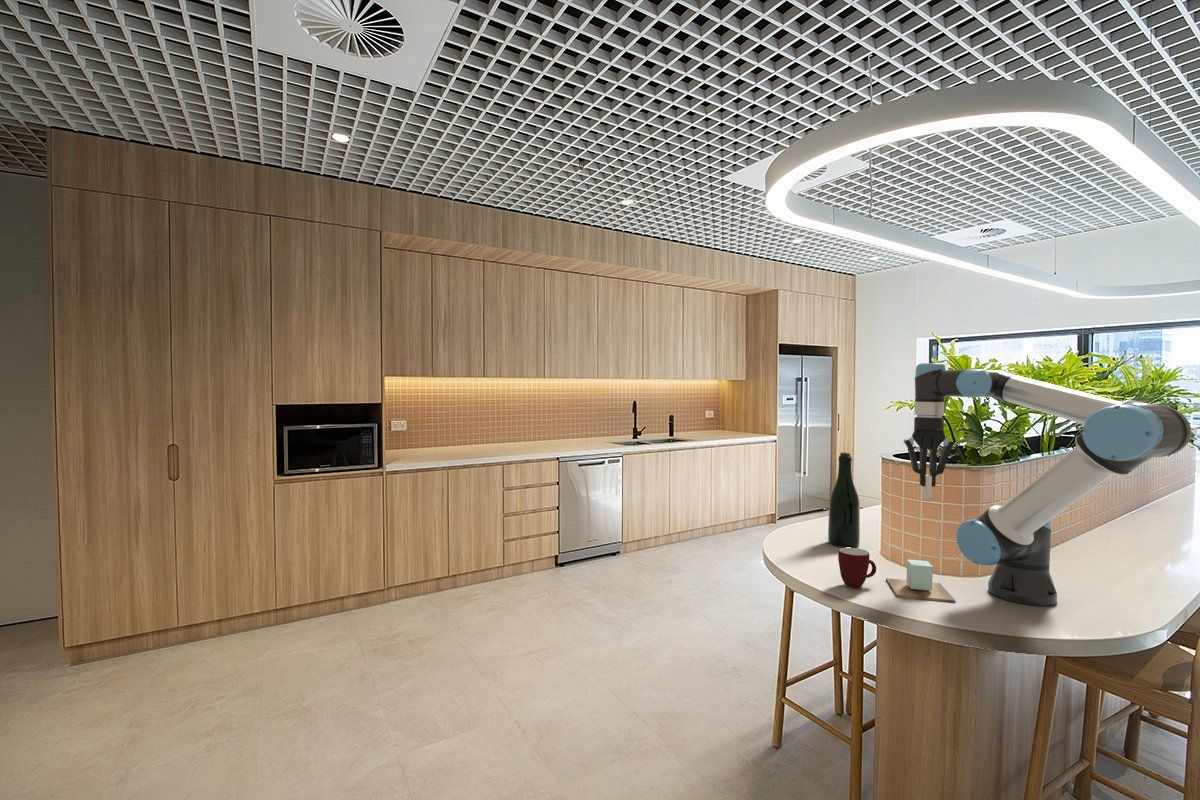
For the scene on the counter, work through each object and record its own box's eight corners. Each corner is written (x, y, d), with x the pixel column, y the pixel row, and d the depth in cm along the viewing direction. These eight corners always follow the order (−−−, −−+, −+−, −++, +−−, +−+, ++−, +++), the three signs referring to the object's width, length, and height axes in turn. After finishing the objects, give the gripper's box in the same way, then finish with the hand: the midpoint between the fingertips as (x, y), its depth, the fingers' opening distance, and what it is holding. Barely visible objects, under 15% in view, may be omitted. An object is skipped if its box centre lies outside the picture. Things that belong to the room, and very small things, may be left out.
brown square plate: (939, 585, 166) (940, 560, 166) (955, 602, 152) (956, 575, 152) (886, 580, 170) (886, 555, 169) (896, 596, 156) (897, 570, 156)
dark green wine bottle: (822, 540, 213) (824, 450, 212) (849, 540, 214) (851, 450, 213) (837, 548, 202) (838, 454, 201) (865, 548, 203) (867, 454, 203)
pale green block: (927, 584, 163) (927, 561, 162) (932, 590, 158) (932, 566, 157) (906, 582, 164) (907, 559, 164) (910, 588, 159) (911, 564, 159)
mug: (863, 580, 169) (864, 546, 169) (883, 589, 162) (883, 554, 161) (831, 582, 167) (832, 548, 167) (849, 592, 159) (850, 556, 159)
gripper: (950, 416, 170) (948, 496, 171) (901, 415, 174) (899, 493, 174) (958, 417, 163) (956, 501, 163) (907, 416, 166) (905, 498, 167)
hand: (927, 497), depth 169 cm, fingers closed
